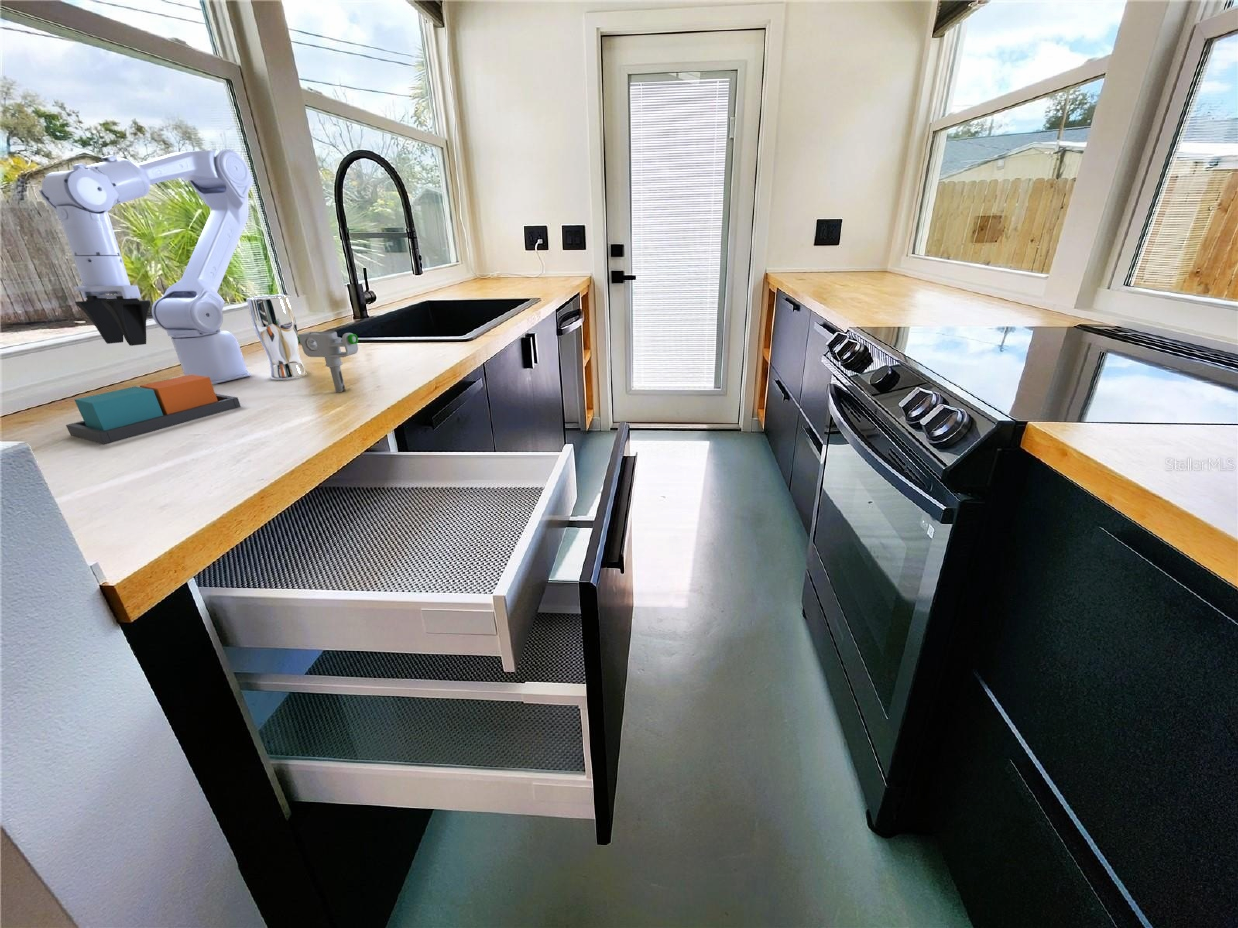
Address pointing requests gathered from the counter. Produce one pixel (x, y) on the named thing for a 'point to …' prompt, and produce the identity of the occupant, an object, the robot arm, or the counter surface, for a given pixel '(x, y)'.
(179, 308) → the robot arm
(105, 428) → the teal rectangular block
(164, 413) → the orange block
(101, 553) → the counter surface
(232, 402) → the tray
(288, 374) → the beer glass
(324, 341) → the mechanical component
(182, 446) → the counter surface
